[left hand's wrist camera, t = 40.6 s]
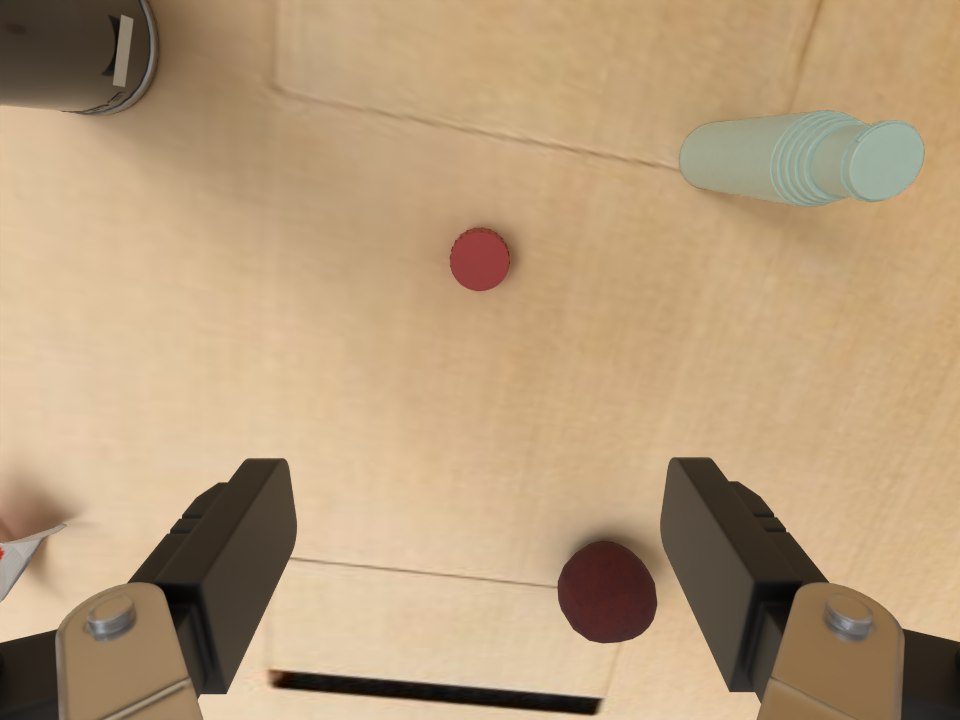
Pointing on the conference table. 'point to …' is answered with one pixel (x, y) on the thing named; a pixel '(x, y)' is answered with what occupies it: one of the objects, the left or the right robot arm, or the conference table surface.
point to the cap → (479, 259)
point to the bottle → (803, 158)
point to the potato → (607, 593)
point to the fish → (18, 558)
